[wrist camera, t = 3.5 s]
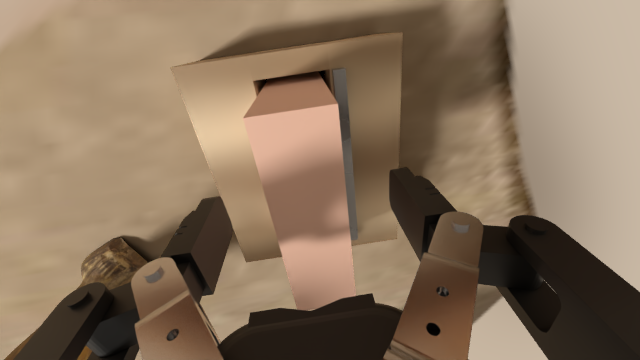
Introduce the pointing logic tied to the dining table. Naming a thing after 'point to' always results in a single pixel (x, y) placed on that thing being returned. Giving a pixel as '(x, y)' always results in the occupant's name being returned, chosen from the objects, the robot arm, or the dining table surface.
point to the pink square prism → (304, 184)
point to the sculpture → (104, 274)
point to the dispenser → (355, 125)
